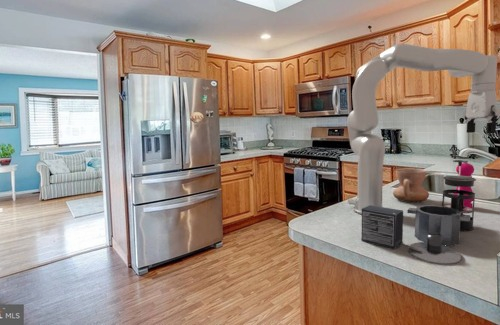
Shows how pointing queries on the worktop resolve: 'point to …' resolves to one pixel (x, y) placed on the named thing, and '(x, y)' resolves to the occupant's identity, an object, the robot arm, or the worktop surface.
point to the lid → (434, 251)
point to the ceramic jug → (411, 185)
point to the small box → (382, 226)
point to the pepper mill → (465, 171)
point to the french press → (460, 196)
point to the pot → (438, 222)
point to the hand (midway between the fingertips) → (480, 132)
